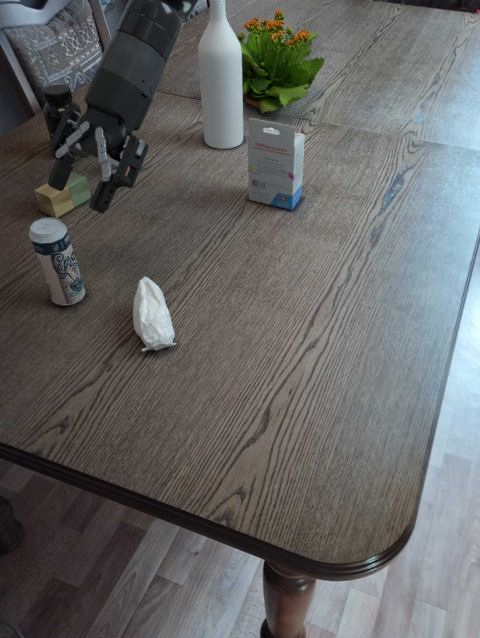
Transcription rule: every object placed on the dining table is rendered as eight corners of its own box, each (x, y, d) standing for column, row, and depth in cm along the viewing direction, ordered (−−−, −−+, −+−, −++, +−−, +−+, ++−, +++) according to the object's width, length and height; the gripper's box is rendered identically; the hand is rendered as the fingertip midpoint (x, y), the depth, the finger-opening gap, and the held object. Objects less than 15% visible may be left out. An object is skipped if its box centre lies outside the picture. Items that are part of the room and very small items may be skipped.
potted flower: (193, 111, 122) (186, 24, 110) (229, 74, 138) (226, -7, 125) (302, 127, 117) (308, 37, 105) (326, 86, 133) (334, 3, 120)
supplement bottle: (47, 155, 108) (29, 93, 99) (66, 140, 112) (50, 79, 104) (77, 161, 106) (62, 98, 98) (96, 146, 111) (82, 84, 102)
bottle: (232, 152, 109) (226, -26, 88) (197, 144, 112) (182, -32, 90) (250, 135, 114) (248, -37, 93) (215, 128, 117) (206, -42, 95)
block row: (40, 211, 94) (33, 190, 91) (124, 163, 106) (120, 143, 103) (56, 218, 93) (50, 197, 90) (139, 169, 105) (136, 149, 102)
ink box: (302, 197, 98) (307, 114, 87) (292, 211, 95) (296, 127, 84) (259, 186, 100) (259, 105, 90) (247, 200, 97) (246, 117, 87)
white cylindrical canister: (78, 309, 77) (56, 238, 68) (46, 306, 78) (19, 234, 69) (91, 288, 80) (71, 217, 72) (60, 284, 81) (36, 213, 72)
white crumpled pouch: (127, 321, 77) (141, 356, 69) (125, 276, 74) (140, 307, 66) (161, 318, 79) (179, 352, 71) (162, 274, 76) (180, 304, 68)
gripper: (68, 52, 70) (18, 171, 72) (146, 80, 63) (89, 209, 66) (109, 83, 76) (62, 191, 78) (183, 111, 70) (130, 227, 72)
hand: (74, 199), depth 72 cm, fingers open, 8 cm apart
